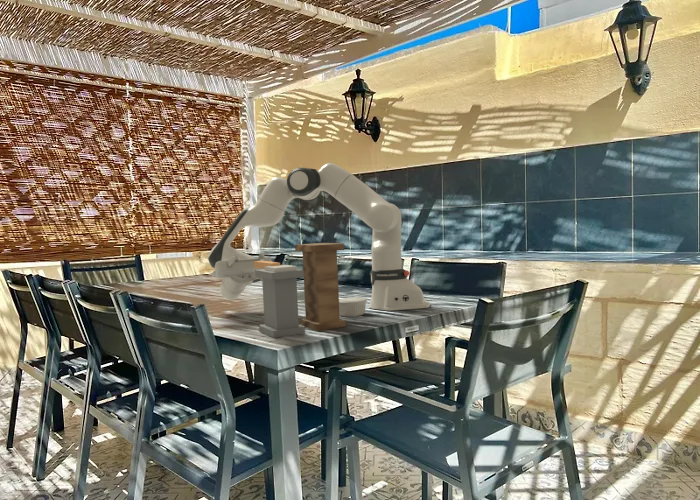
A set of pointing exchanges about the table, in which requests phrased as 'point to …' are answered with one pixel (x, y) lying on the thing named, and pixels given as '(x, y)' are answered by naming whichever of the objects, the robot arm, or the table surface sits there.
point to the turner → (273, 266)
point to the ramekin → (352, 306)
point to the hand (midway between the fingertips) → (249, 256)
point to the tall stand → (321, 286)
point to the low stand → (280, 303)
